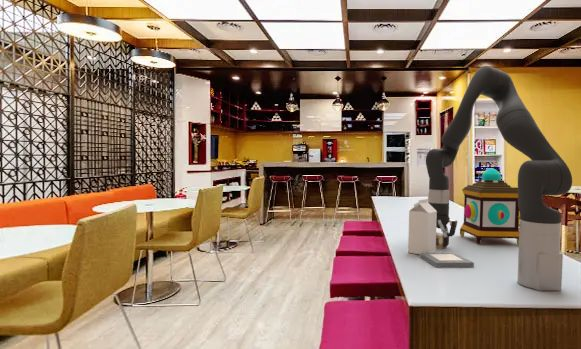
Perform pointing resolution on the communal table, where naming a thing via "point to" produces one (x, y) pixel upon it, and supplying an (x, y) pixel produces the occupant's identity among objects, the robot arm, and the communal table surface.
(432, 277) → the communal table surface
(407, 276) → the communal table surface
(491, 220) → the decorative lantern
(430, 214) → the milk carton
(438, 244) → the marked cube
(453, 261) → the slate board
